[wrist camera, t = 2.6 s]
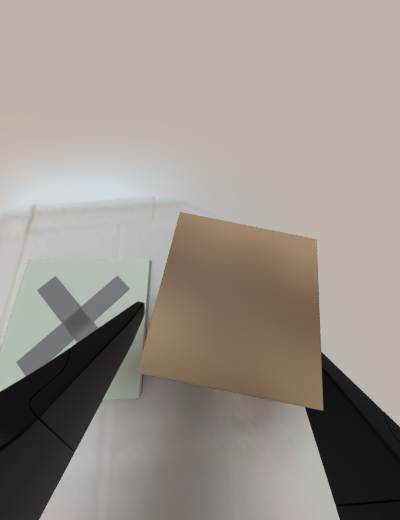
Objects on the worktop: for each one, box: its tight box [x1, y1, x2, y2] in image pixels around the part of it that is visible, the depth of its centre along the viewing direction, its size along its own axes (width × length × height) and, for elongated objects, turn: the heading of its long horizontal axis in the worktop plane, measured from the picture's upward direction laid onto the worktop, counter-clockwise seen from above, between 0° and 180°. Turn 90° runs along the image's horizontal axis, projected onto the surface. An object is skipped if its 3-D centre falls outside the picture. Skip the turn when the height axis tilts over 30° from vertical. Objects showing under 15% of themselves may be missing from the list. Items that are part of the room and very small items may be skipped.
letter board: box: [0, 260, 151, 400], centre depth 16 cm, size 14×14×1 cm
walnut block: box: [137, 212, 323, 410], centre depth 12 cm, size 6×6×13 cm
